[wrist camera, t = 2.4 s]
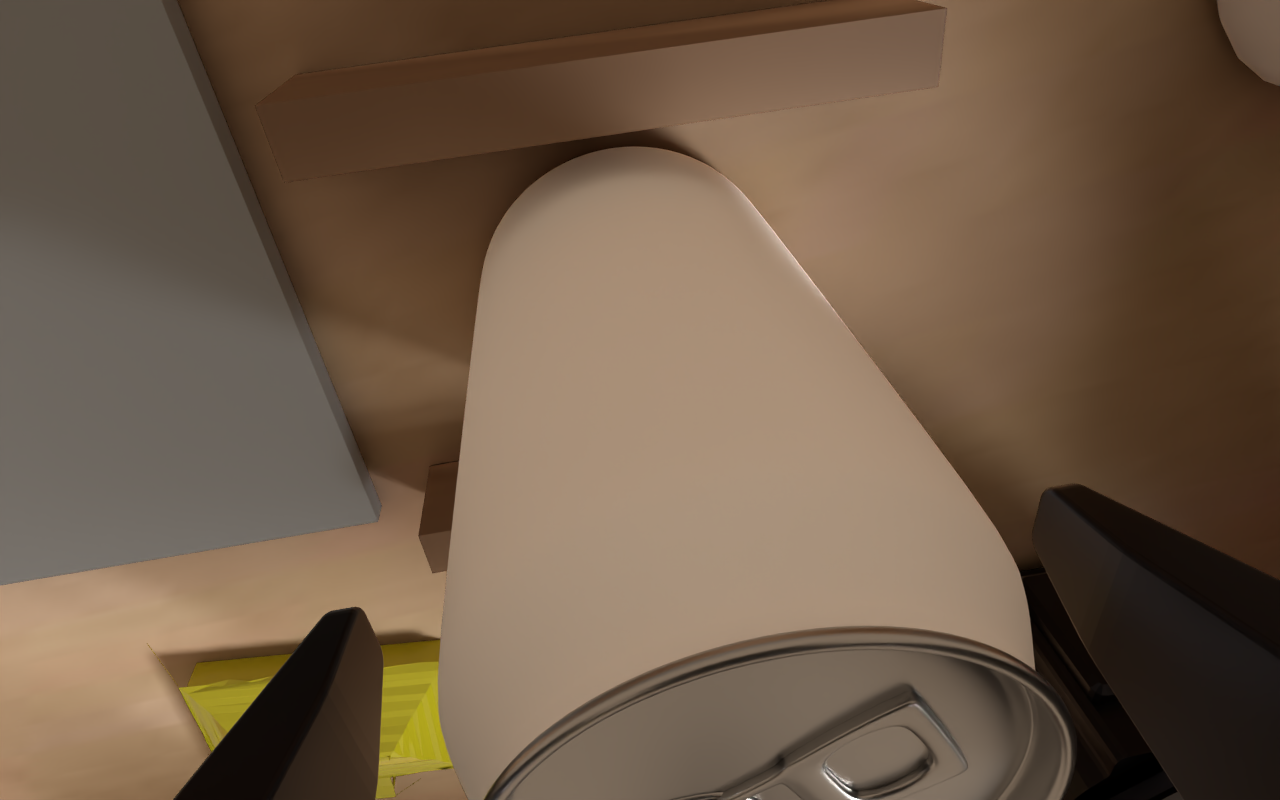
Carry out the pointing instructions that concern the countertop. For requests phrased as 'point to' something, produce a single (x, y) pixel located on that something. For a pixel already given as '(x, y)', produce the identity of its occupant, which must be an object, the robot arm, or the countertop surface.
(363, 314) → the countertop surface
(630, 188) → the can
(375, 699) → the robot arm
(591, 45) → the holder
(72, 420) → the mat
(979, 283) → the countertop surface
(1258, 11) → the cup
